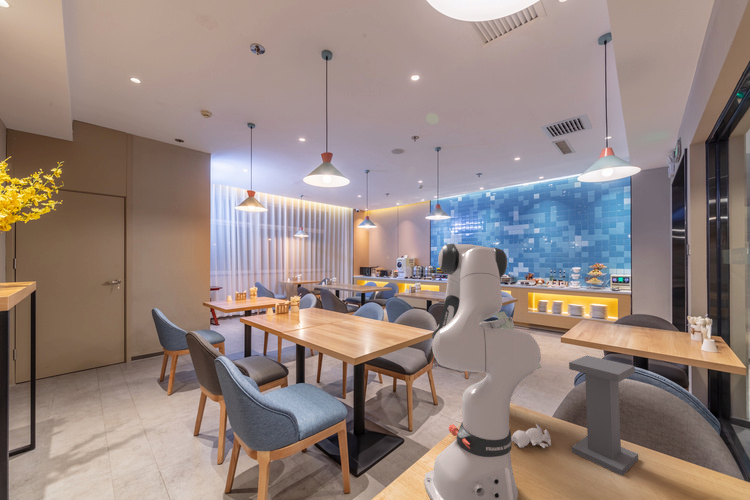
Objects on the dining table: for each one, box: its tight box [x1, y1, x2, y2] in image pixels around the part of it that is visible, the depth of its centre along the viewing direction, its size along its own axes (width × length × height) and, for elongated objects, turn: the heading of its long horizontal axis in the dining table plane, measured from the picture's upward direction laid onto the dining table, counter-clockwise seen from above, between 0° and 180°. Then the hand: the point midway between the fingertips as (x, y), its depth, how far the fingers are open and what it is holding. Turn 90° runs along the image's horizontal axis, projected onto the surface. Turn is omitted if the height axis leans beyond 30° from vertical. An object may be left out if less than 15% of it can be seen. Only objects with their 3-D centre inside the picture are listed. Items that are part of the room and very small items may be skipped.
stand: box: [568, 355, 639, 477], centre depth 88 cm, size 12×12×26 cm
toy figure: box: [511, 423, 552, 449], centre depth 93 cm, size 11×5×12 cm
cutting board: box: [495, 311, 542, 370], centre depth 110 cm, size 10×22×2 cm
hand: (508, 319), depth 113 cm, fingers closed on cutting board, 3 cm apart
